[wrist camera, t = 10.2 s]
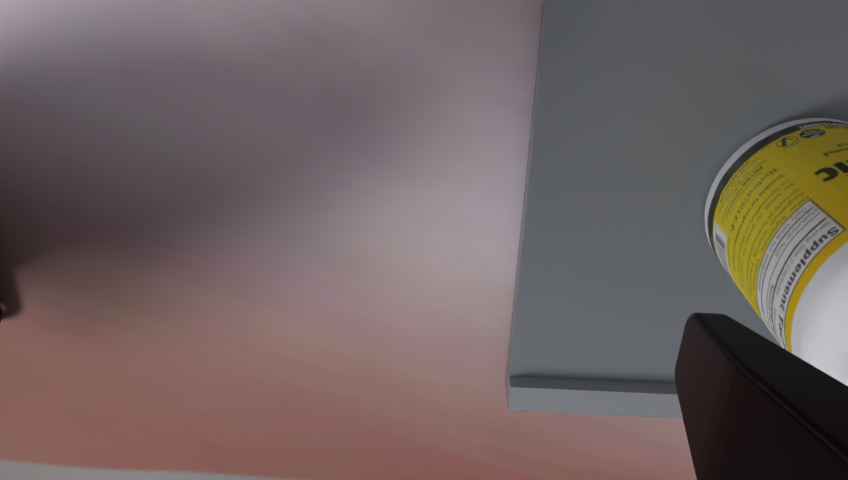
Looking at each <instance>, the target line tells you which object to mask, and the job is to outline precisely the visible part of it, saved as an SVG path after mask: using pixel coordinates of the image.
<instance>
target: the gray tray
mask: <svg viewBox="0 0 848 480" xmlns="http://www.w3.org/2000/svg"><path fill="white" fill-rule="evenodd" d="M806 118H829V119H836V120H841V121H844V122H848V0H544V4H543V14H542V24H541V34H540V44H539V54H538V64H537V74H536V84H535V94H534V103H533V113H532V123H531V133H530V143H529V153H528V163H527V173H526V183H525V193H524V203H523V213H522V223H521V233H520V243H519V253H518V263H517V273H516V283H515V292H514V302H513V312H512V322H511V332H510V342H509V352H508V362H507V372H506V382H505V387H506V396H507V406H508V410H512V411H534V412H555V413H577V414H599V415H621V416H643V417H664V418H683V417H682V412H681V408H680V403H679V399H678V395H677V390H676V386H675V365H676V361H677V357H678V353H679V348H680V344H681V340H682V336H683V331H684V327H685V323H686V321H687V319H688V317H689V316H690V315H691V314H693V313H697V312H699V313H720V314H725V315H727V316H729V317H731V318H732V319H734V320H736V321H738V322H739V323H741V324H743V325H744V326H746V327H748V328H750V329H751V330H753V331H755V332H756V333H758V334H760V335H761V336H763V337H765V338H767V339H768V340H770V341H772V342H773V343H775V344H777V345H778V346H780V344H779V343H778V341H777V340H776V339H775V337H774V336H773V335H772V333H771V332H770V330H769V329H768V328H767V326H766V325H765V324H764V322H763V321H762V320H761V318H760V317H759V316H758V314H757V313H756V311H755V310H754V309H753V307H752V306H751V305H750V303H749V302H748V300H747V299H746V298H745V296H744V295H743V294H742V292H741V291H740V289H739V288H738V287H737V286H736V284H735V283H734V282H733V280H732V279H731V277H730V276H729V275H728V273H727V272H726V270H725V269H724V267H723V266H722V264H721V263H720V261H719V260H718V259H717V257H716V255H715V253H714V252H713V250H712V248H711V246H710V244H709V241H708V238H707V234H706V230H705V216H704V215H705V205H706V200H707V197H708V194H709V191H710V188H711V186H712V184H713V182H714V180H715V178H716V176H717V174H718V173H719V171H720V170H721V168H722V167H723V165H724V164H725V163H726V161H727V160H728V159H729V158H730V157H731V156H732V155H733V154H734V153H735V152H736V151H737V150H738V149H739V148H740V147H741V146H742V145H743V144H745V143H746V142H747V141H749V140H750V139H752V138H753V137H754V136H756V135H758V134H760V133H762V132H763V131H765V130H767V129H769V128H772V127H774V126H777V125H780V124H783V123H786V122H790V121H794V120H799V119H806ZM780 347H781V346H780Z"/></svg>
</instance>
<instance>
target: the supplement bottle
mask: <svg viewBox="0 0 848 480" xmlns="http://www.w3.org/2000/svg"><path fill="white" fill-rule="evenodd" d="M704 216H705V230H706V234H707V238H708V241H709V244H710V246H711V248H712V250H713V252H714V253H715V255H716V257H717V259H718V260H719V261H720V263H721V264H722V266H723V267H724V269H725V270H726V272H727V273H728V275H729V276H730V277H731V279H732V280H733V282H734V283H735V284H736V286H737V287H738V288H739V289H740V291H741V292H742V294H743V295H744V296H745V298H746V299H747V300H748V302H749V303H750V305H751V306H752V307H753V309H754V310H755V311H756V313H757V314H758V316H759V317H760V318H761V320H762V321H763V322H764V324H765V325H766V326H767V328H768V329H769V330H770V332H771V333H772V335H773V336H774V337H775V339H776V340H777V341H778V343H779V344H780V346H781V347H782V348H784V349H785V350H787V351H789V352H790V353H792V354H794V355H796V356H797V357H799V358H801V359H802V360H804V361H806V362H807V363H809V364H811V365H813V366H814V367H816V368H818V369H819V370H821V371H823V372H825V373H826V374H828V375H830V376H831V377H833V378H835V379H836V380H838V381H840V382H842V383H843V384H845V385H847V386H848V122H844V121H841V120H836V119H829V118H806V119H799V120H794V121H790V122H786V123H783V124H780V125H777V126H774V127H772V128H769V129H767V130H765V131H763V132H762V133H760V134H758V135H756V136H754V137H753V138H752V139H750V140H749V141H747V142H746V143H745V144H743V145H742V146H741V147H740V148H739V149H738V150H737V151H736V152H735V153H734V154H733V155H732V156H731V157H730V158H729V159H728V160H727V161H726V163H725V164H724V165H723V167H722V168H721V170H720V171H719V173H718V174H717V176H716V178H715V180H714V182H713V184H712V186H711V188H710V191H709V194H708V197H707V200H706V205H705V215H704Z"/></svg>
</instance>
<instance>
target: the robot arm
mask: <svg viewBox="0 0 848 480" xmlns="http://www.w3.org/2000/svg"><path fill="white" fill-rule="evenodd" d="M1 320H2V311H1V308H0V322H1ZM675 386H676V390H677V395H678V399H679V403H680V408H681V412H682V417H683V421H684V425H685V430H686V434H687V438H688V443H689V447H690V452H691V456H692V460H693V465H694V469H695V473H696V477H697V480H848V386H847V385H845V384H843V383H842V382H840V381H838V380H836V379H835V378H833V377H831V376H830V375H828V374H826V373H825V372H823V371H821V370H819V369H818V368H816V367H814V366H813V365H811V364H809V363H807V362H806V361H804V360H802V359H801V358H799V357H797V356H796V355H794V354H792V353H790V352H789V351H787V350H785V349H784V348H782V347H780V346H778V345H777V344H775V343H773V342H772V341H770V340H768V339H767V338H765V337H763V336H761V335H760V334H758V333H756V332H755V331H753V330H751V329H750V328H748V327H746V326H744V325H743V324H741V323H739V322H738V321H736V320H734V319H732V318H731V317H729V316H727V315H725V314H720V313H699V312H697V313H693V314H691V315H690V316H689V317H688V319H687V321H686V323H685V327H684V331H683V336H682V340H681V344H680V348H679V353H678V357H677V361H676V365H675Z"/></svg>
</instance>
